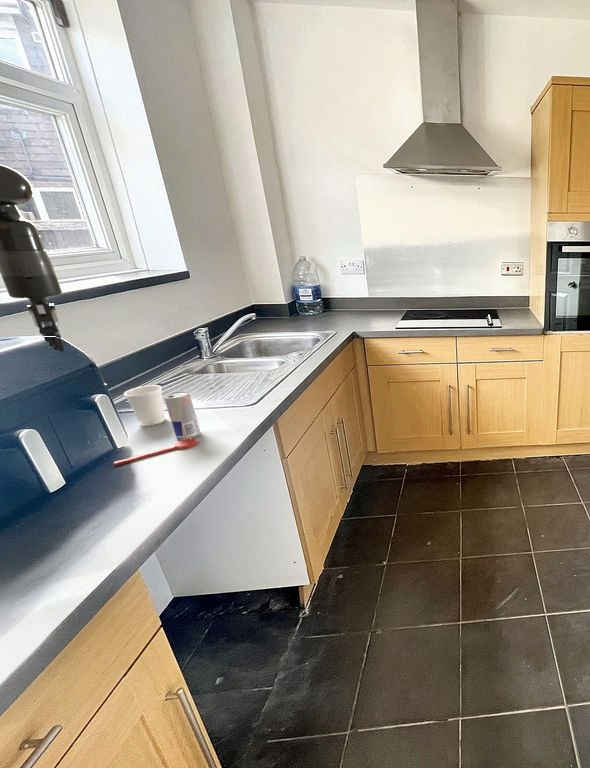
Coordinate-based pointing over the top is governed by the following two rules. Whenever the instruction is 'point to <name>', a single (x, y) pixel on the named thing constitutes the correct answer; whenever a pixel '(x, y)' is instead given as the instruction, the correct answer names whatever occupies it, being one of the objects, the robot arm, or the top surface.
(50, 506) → the top surface
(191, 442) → the spoon
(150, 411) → the dixie cup
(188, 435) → the energy drink
